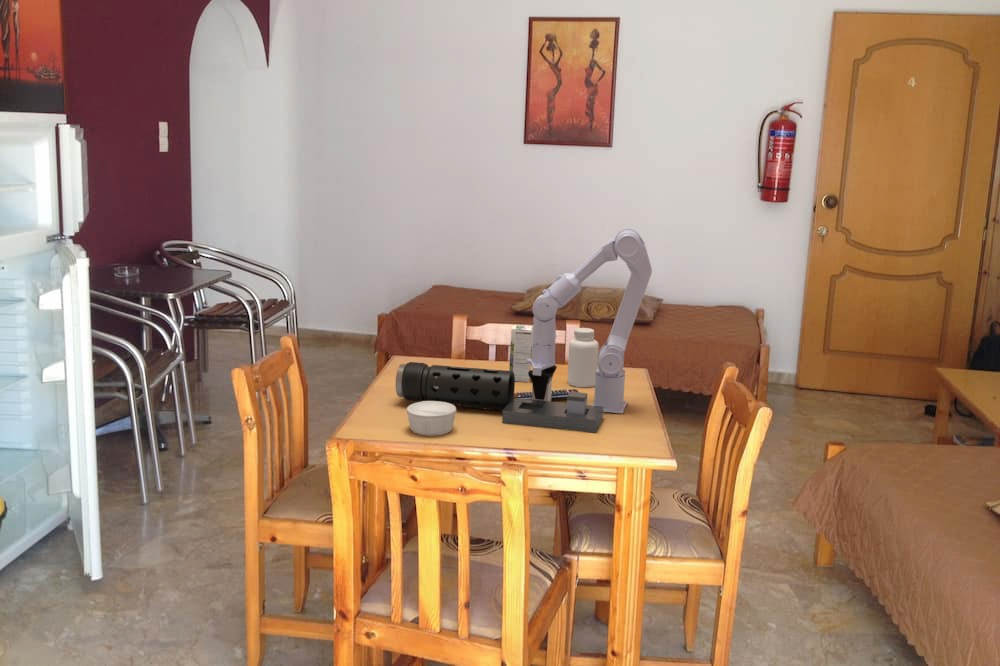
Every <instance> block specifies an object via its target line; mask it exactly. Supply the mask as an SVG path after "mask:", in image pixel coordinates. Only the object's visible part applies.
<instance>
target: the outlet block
mask: <svg viewBox="0 0 1000 666" xmlns="http://www.w3.org/2000/svg"><path fill="white" fill-rule="evenodd" d="M603 409H604V407H602V406H592V404H587V413H586V415H579V414H569V413H567V402H561V401H560V402H559V401H552V400H551V401H541V400H532V398H531V399H529V398H519V397H514V398H513V399H512V400H511V402H510V403H509V404H508V405H507V406H506V407H505V408H504V409H503V411H502V410H501V411H502V419H501V423H502V424H508V425H509V424H511V425H517V426H526V427H528V426H529V427H537V428H547V429H557V430H565V429H567V430H566V431H574V430H575V431H576V432H583V433H593V434H594V433H595V434H596V433H597V432H598V429H599V428H600V426H601V424H602V421H603V419H604V412H603ZM575 431H574V432H575Z"/></svg>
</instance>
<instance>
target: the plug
mask: <svg viewBox="0 0 1000 666" xmlns="http://www.w3.org/2000/svg"><path fill="white" fill-rule="evenodd" d="M552 379H553V377H552V376H550V378H549V381H548V384H547V388H546V394H545V398H544V400H541V401H551V402H552V388H553V387H552V385H553V384H552V381H553V380H552ZM531 389H532V390H531V392H532V393H531V400H540V399H535V395H534V389H533V386H532V387H531Z"/></svg>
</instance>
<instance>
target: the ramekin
mask: <svg viewBox="0 0 1000 666" xmlns="http://www.w3.org/2000/svg"><path fill="white" fill-rule="evenodd" d="M406 414H407V417H408V422H409V427H410V430H411V431H412V432H413V433H414V434H416V433H417V434H416V435H419V434H420V436H424V435H425V437H426V436H427V437H438V435H439V436H443V434H444V435H446V433H447V434H448V432H449V433H450V432H451V431H452V429H453V428H454V422H455V416H456V414H457V407H456V406H455V404H450V403H446V402H440V401H416V402H414V403H411V404H410V405H408V406H407V408H406Z"/></svg>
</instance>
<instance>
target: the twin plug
mask: <svg viewBox="0 0 1000 666" xmlns="http://www.w3.org/2000/svg"><path fill="white" fill-rule="evenodd" d="M566 398H567V399H566V403H567V413H569V414H579V415H586V413H587V405H588V393H587V392H579V391H570V392H569V393H568V395H567V397H566Z"/></svg>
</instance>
